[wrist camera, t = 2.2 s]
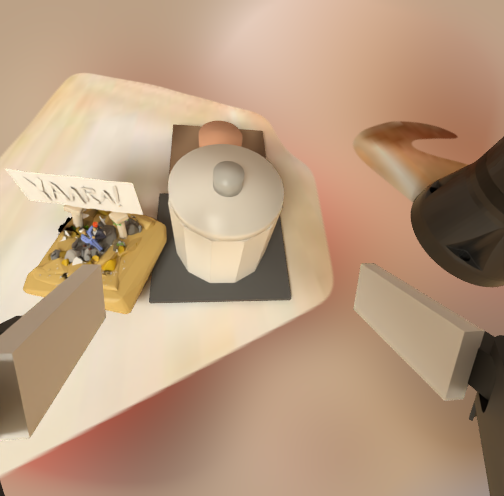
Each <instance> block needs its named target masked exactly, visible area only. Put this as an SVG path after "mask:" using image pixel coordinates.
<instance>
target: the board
mask: <svg viewBox="0 0 504 496" xmlns="http://www.w3.org/2000/svg"><path fill="white" fill-rule="evenodd" d="M200 128H201V127H200V126H186V125H173V135H172V147H171V160H170V172H169V175H170V173H171V170H172V169H173V167H174V165H175V164H176V163H177V161H178V160H179V159H181V158H182V157H183V156H184V155H186V154H187V153H189V152H190V151H192V150H194V149H197V148H199V130H200ZM239 130H240V131H241V133H242V137H243V140H242V146H241V147H244V148H247V149H249V150H252V151H254V152H256V153H258V154H259V155H261V156H262V157H264V158H265V159H266V156H265V148H264V140H263V132H262V131H255V130H242V129H239Z"/></svg>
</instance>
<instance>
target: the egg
mask: <svg viewBox="0 0 504 496" xmlns="http://www.w3.org/2000/svg"><path fill="white" fill-rule="evenodd" d="M242 140H243V137H242V133H241V131H240V130H239V129H238V128H237V127H236V126H234V125H233V124H231V123H228V122H224V121H212V122H209V123H206V124H205V125H203V126H202V127H201V128H200V130H199V148H200V147H203V146H207V145H214V144H229V145H236V146H240V147H241V146H242Z"/></svg>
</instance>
